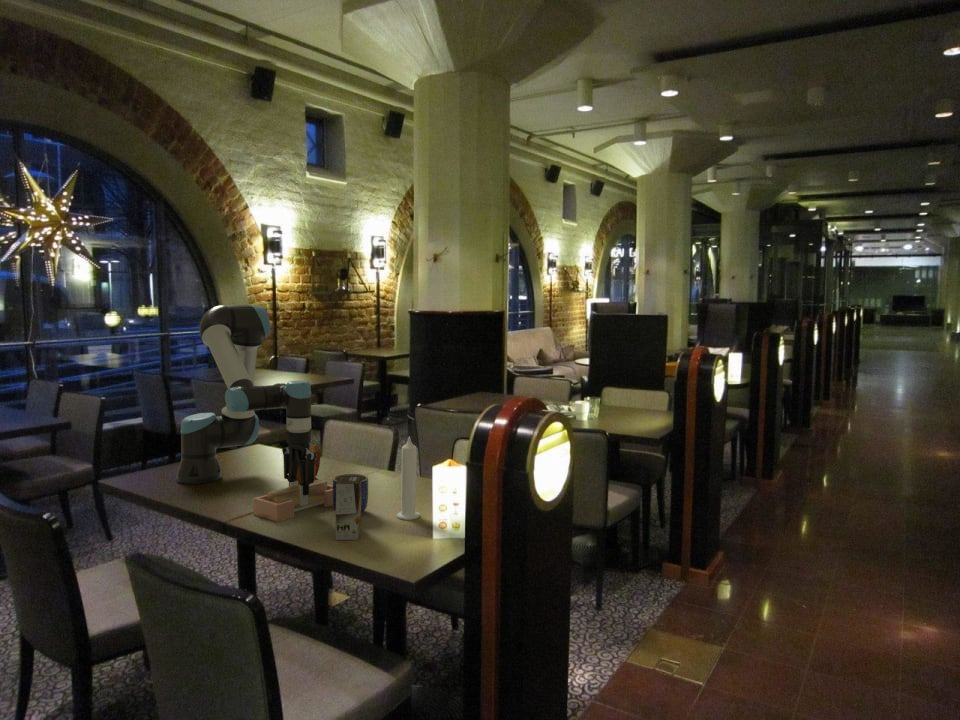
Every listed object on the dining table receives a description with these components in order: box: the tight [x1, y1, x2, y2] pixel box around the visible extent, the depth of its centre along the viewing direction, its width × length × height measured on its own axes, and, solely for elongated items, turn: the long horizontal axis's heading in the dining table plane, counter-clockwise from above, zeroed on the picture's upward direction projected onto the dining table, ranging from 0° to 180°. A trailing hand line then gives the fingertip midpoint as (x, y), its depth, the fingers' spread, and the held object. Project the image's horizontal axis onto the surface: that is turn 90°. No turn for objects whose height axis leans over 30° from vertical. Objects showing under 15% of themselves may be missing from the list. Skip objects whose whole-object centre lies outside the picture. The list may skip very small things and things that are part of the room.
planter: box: [332, 473, 369, 515], centre depth 216 cm, size 11×11×11 cm
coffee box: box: [335, 475, 362, 541], centre depth 196 cm, size 9×6×16 cm
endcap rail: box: [252, 483, 334, 523], centre depth 220 cm, size 11×25×5 cm, turn 144°
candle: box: [396, 436, 421, 521], centre depth 213 cm, size 7×7×25 cm
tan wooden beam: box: [267, 478, 328, 509], centre depth 220 cm, size 4×20×6 cm, turn 144°
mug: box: [295, 444, 321, 485], centre depth 241 cm, size 15×8×15 cm, turn 168°
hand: (298, 503), depth 220 cm, fingers open, 4 cm apart
